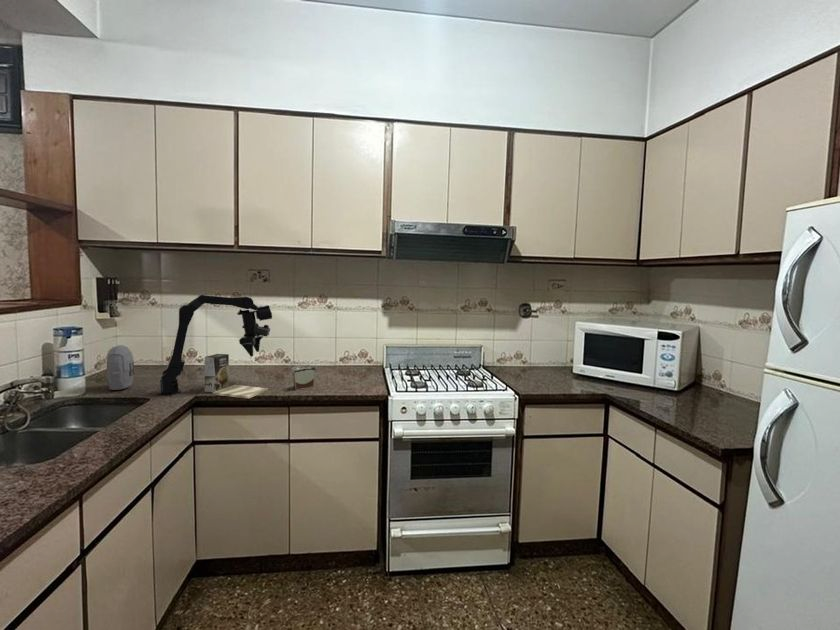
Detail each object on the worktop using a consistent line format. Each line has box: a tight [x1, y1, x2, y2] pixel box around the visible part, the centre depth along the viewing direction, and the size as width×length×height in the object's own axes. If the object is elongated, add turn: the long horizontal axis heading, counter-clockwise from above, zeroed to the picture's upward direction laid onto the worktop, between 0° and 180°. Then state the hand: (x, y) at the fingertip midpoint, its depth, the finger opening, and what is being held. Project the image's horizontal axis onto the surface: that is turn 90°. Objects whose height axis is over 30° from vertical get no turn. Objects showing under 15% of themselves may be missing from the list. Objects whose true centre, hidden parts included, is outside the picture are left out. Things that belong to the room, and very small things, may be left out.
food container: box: [291, 364, 317, 391], centre depth 203 cm, size 12×6×10 cm, turn 134°
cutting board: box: [212, 384, 269, 400], centre depth 191 cm, size 18×14×1 cm
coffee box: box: [204, 353, 230, 393], centre depth 194 cm, size 9×6×16 cm
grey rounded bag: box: [105, 344, 135, 391], centre depth 192 cm, size 15×8×20 cm, turn 15°
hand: (255, 354), depth 204 cm, fingers open, 9 cm apart
